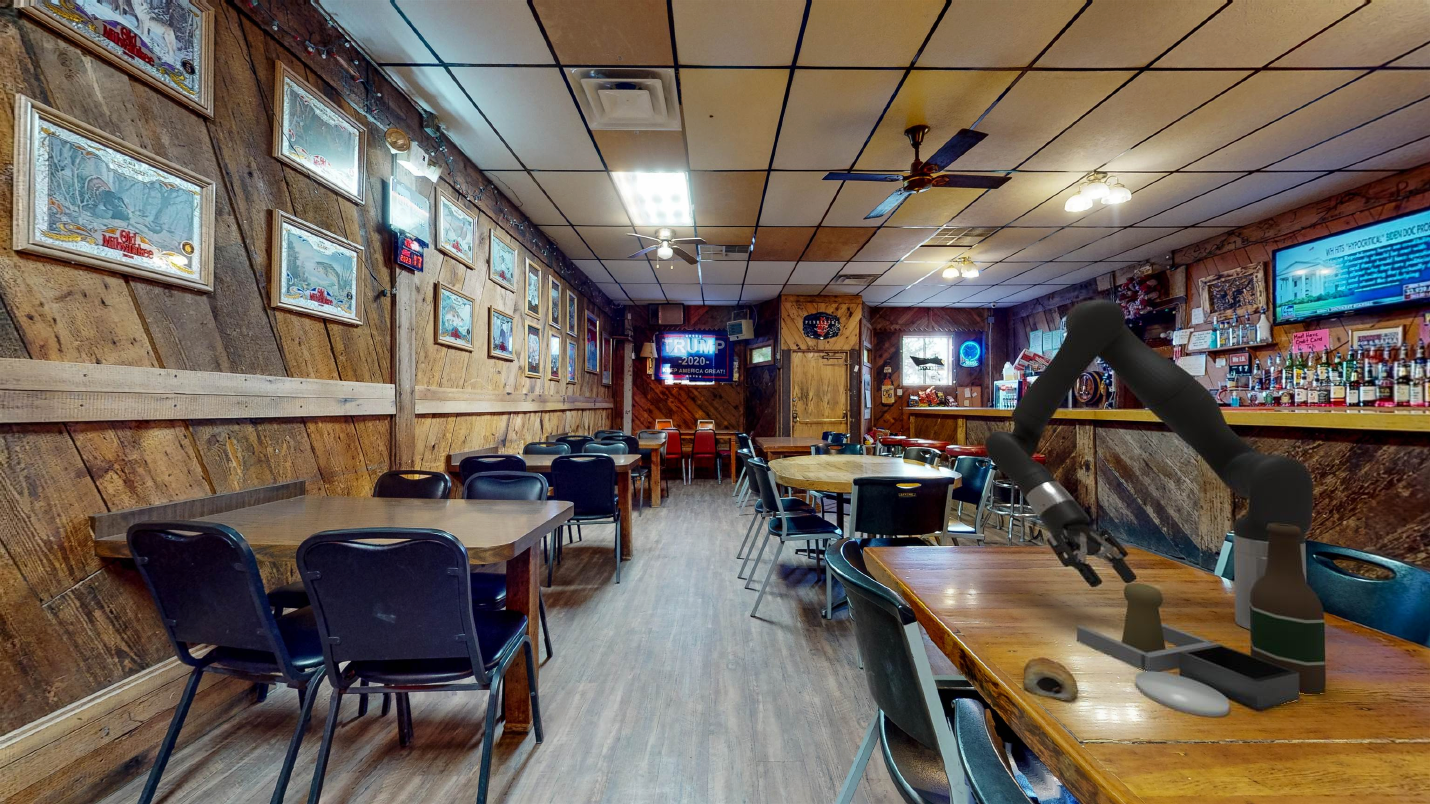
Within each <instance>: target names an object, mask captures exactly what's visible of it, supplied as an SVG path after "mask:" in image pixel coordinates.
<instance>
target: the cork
mask: <svg viewBox="0 0 1430 804" xmlns="http://www.w3.org/2000/svg"><path fill="white" fill-rule="evenodd" d="M1123 596H1124V599H1125V600H1126V602H1127V606H1126V613H1125V619H1124V626H1123V633H1122V639H1121V642H1122V643H1124V644H1126V645H1129V646H1131V647H1134V648H1136V649H1138V650H1141V651H1143V652H1146V653H1149V652H1154V651H1159V650H1165V649H1167V647H1166V644H1165V642H1166V641H1164V636H1163V631H1162V625H1161V623H1162V619H1161V615H1160V610H1159V609H1160V607H1161V606H1162V604H1163V601H1164V599H1163V598H1164V597H1163V594H1162V592H1161V591H1160V590H1159V589H1158V588H1156V587H1154V586H1151V585H1148V584H1144V583H1134V582H1133V583H1132V582H1131V583H1127V584H1126V585H1125V586H1124V589H1123Z"/></svg>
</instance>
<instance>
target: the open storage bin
mask: <svg viewBox="0 0 1430 804" xmlns="http://www.w3.org/2000/svg"><path fill="white" fill-rule="evenodd" d="M1178 670H1179V676H1182V677H1186V678H1189V679H1192V680H1195V681H1198V682H1200V683H1203V684H1205V685H1207V686H1209V687H1211V688H1213V689H1215V690H1217V691H1218V692H1220V693H1221V694H1223V695H1224V696H1225V697H1226V698H1227V699H1228V700H1230V701H1232V702H1235V703H1238V704H1240V705H1241V706H1244V707H1246V708H1248V709H1251V710H1253V711H1256V712H1262V711H1265V710H1269V709H1272V707H1273V708H1275V707H1274V706H1277V707H1279V706H1278V705H1281V704H1284V703H1287V702H1292V701H1294V700H1298V699H1300V698H1301V697H1300V695H1301V694H1299V672H1296V671H1293V670H1290V669H1288V668H1285V667H1282V666H1279V665H1276V664H1274V663H1271V662H1268V661H1265V660H1262V659H1260V658H1257V657H1254V656H1251V654H1248V653H1246V652H1242V651H1239V650H1237V649H1233V648H1232V647H1229V646H1225V645H1224V644H1220V643H1218V644H1217V645H1212V646H1206V647H1201V648H1196V649H1190V650H1185V651H1180V652H1179V669H1178ZM1281 706H1282V705H1281Z"/></svg>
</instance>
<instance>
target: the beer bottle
mask: <svg viewBox="0 0 1430 804" xmlns="http://www.w3.org/2000/svg"><path fill="white" fill-rule="evenodd" d="M1266 530H1267V531H1269V540H1268V555H1267V566H1266V570H1265V574H1264V575H1263V576H1261V577H1260V578H1259V579H1258V580H1257V581H1256V582H1255V584H1254V585H1253V587H1252V589H1251V593H1250V630H1249V632H1250V633H1249V636H1250V655H1251V656H1254V657H1257V658H1260V659H1262V660H1265V661H1268V662H1271V663H1274V664H1276V665H1279V666H1282V667H1285V668H1288V669H1290V670H1293V671H1296V672H1299V692H1300V693H1304V694H1320V693H1324V694H1325V693H1326V682H1327V676H1326V672H1327V671H1326V670H1327V669H1326V629H1325V628H1326V625H1325V624H1326V623H1325V612H1324V608H1323V607H1324V606H1323V605H1322V602H1321V600H1320V599H1319V596H1318V594H1316V592H1315V591H1314V590H1313V589H1312V587H1311V586H1310V585H1309V583H1307V579H1306V580H1305V576H1304V573H1303V566H1302V557H1301V547H1300V538H1299V536H1301V535H1302V532H1301V530H1300V528H1299V527H1297V526H1294V525H1288V524H1279V523H1271V524H1268V526H1267V528H1266Z"/></svg>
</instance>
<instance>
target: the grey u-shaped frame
mask: <svg viewBox="0 0 1430 804" xmlns="http://www.w3.org/2000/svg"><path fill="white" fill-rule="evenodd" d="M1161 625H1162V631H1163V636H1164V642H1166V641H1167V642H1166V643H1169V644H1171V643H1172V645H1174V646H1177V647H1171V648H1166V649H1165V650H1159V651H1154V652H1149V653H1146V652H1143V651H1141V650H1138V649H1136V648H1134V647H1131V646H1129V645H1126V644H1124V643H1122V641H1119V640H1116V639H1114V638H1111V636H1107V635H1105V634H1102V633H1100V632H1097V631H1095V630H1094V629H1090V628H1088V627H1086V626H1082V625H1080V626H1076V641H1077V642H1079V641H1080V642H1079V643H1081V642H1082V643H1081V644H1083V643H1084V645H1085V644H1086V646H1089V647H1090V648H1091V649H1094V648H1095V650H1097V651H1099V650H1100V652H1101V651H1102V652H1101V653H1103V652H1104V653H1103V654H1105V653H1106V655H1108V656H1110V655H1111V656H1110V657H1112V658H1114V659H1117V660H1119V661H1120V662H1123V663H1125V662H1126V663H1125V664H1128V665H1130V666H1133V667H1134V666H1135V668H1136V669H1139V668H1141V669H1143V670H1145V671H1144V672H1146V671H1154V672H1158V671H1159V672H1163V670H1164V671H1168V670H1172V669H1173V670H1174V669H1178V668H1179V652H1180V651H1185V650H1190V649H1196V648H1201V647H1206V646H1212V645H1217V644H1219V642H1215V641H1213V640H1212V641H1211V640H1209V639H1206V638H1203V637H1200V636H1197V635H1195V634H1192V633H1189V632H1186V631H1184V630H1181V629H1178V628H1175V627H1172V626H1170V625H1167V624H1164V623H1162V622H1161ZM1141 669H1140V670H1141ZM1143 670H1142V671H1143Z"/></svg>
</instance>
